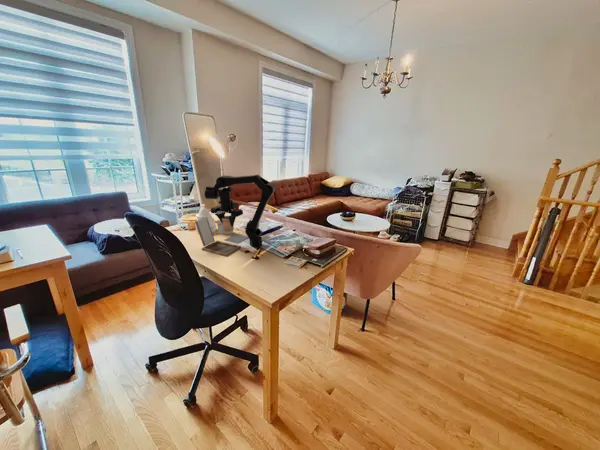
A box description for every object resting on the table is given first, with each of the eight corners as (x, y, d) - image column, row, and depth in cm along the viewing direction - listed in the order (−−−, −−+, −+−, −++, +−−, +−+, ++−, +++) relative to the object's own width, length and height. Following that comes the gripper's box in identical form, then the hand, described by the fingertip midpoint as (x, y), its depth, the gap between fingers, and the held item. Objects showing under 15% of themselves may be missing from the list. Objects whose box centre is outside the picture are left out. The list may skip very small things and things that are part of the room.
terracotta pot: (236, 228, 142) (235, 216, 139) (229, 232, 137) (227, 219, 134) (228, 227, 144) (226, 215, 142) (220, 230, 139) (219, 218, 136)
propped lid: (206, 217, 142) (206, 217, 142) (195, 221, 135) (194, 221, 136) (214, 241, 145) (214, 241, 145) (204, 246, 138) (203, 246, 139)
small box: (233, 232, 165) (231, 217, 161) (230, 235, 160) (228, 220, 156) (222, 232, 166) (220, 217, 162) (218, 235, 160) (216, 220, 157)
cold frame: (241, 249, 140) (238, 221, 134) (226, 258, 130) (222, 228, 124) (210, 241, 150) (207, 215, 144) (195, 249, 140) (190, 221, 134)
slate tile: (249, 238, 155) (249, 236, 154) (238, 244, 146) (238, 243, 145) (236, 235, 159) (236, 233, 159) (224, 241, 150) (224, 239, 150)
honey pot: (196, 228, 172) (192, 204, 165) (215, 226, 176) (212, 202, 170) (196, 235, 160) (191, 209, 154) (216, 232, 164) (213, 207, 158)
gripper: (247, 197, 138) (250, 223, 143) (222, 194, 145) (225, 219, 150) (235, 202, 128) (238, 229, 133) (208, 198, 135) (212, 225, 141)
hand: (228, 225), depth 140 cm, fingers closed on terracotta pot, 6 cm apart
